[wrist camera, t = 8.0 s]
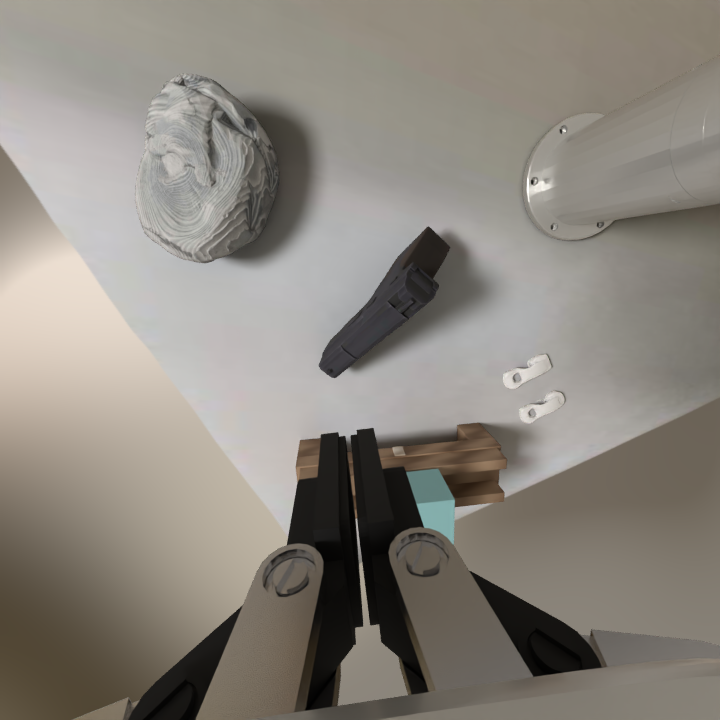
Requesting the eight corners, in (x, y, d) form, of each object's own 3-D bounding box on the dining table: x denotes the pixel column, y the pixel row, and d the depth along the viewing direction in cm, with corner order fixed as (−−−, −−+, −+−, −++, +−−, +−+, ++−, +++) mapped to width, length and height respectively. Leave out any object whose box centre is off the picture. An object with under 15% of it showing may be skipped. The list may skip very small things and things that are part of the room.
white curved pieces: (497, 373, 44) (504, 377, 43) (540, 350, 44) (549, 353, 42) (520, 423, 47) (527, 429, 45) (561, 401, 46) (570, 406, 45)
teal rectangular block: (431, 456, 39) (454, 499, 32) (431, 496, 41) (453, 547, 33) (393, 460, 39) (408, 504, 31) (395, 501, 40) (409, 552, 33)
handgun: (451, 245, 36) (435, 307, 28) (365, 324, 47) (335, 385, 39) (428, 223, 35) (404, 280, 27) (345, 309, 46) (311, 368, 38)
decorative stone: (180, 289, 34) (118, 241, 25) (124, 178, 36) (43, 90, 26) (307, 229, 36) (298, 163, 27) (250, 126, 38) (220, 26, 28)
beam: (479, 421, 45) (511, 455, 37) (477, 462, 47) (507, 503, 39) (299, 439, 44) (293, 478, 36) (305, 480, 46) (299, 527, 38)
